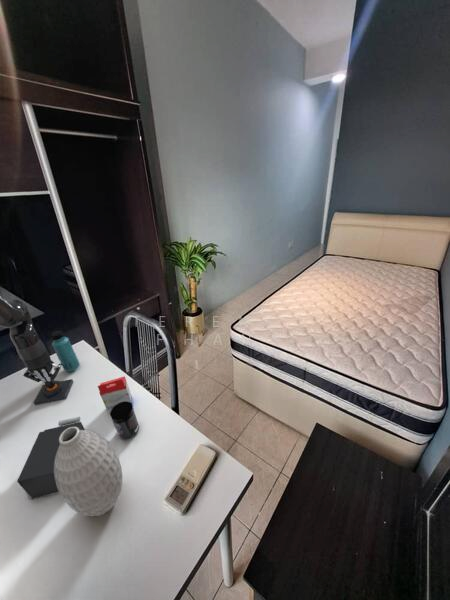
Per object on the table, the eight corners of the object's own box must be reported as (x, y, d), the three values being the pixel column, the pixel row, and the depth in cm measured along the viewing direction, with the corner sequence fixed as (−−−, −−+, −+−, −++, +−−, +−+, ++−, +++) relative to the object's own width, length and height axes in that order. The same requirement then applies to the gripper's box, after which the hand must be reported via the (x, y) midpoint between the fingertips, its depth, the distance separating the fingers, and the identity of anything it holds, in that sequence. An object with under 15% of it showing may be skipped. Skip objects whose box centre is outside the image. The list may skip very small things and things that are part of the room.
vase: (115, 463, 73) (85, 399, 60) (140, 494, 66) (112, 429, 53) (71, 504, 65) (24, 439, 51) (93, 544, 58) (46, 482, 44)
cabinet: (51, 450, 78) (39, 432, 74) (90, 440, 80) (81, 422, 76) (32, 499, 66) (16, 481, 62) (78, 486, 68) (66, 468, 64)
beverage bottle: (79, 361, 114) (63, 326, 105) (82, 369, 110) (66, 333, 100) (63, 368, 111) (45, 332, 101) (66, 376, 106) (48, 339, 97)
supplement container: (122, 421, 86) (115, 401, 81) (142, 421, 85) (135, 400, 80) (115, 441, 80) (106, 420, 75) (135, 440, 80) (128, 419, 75)
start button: (46, 394, 96) (44, 391, 95) (50, 387, 99) (48, 384, 98) (56, 392, 96) (55, 389, 96) (60, 385, 100) (58, 382, 99)
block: (35, 405, 94) (31, 399, 92) (44, 387, 101) (41, 381, 100) (66, 399, 96) (63, 392, 94) (73, 381, 103) (70, 375, 102)
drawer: (58, 431, 83) (49, 417, 79) (91, 424, 84) (84, 410, 81) (36, 487, 68) (25, 473, 65) (77, 476, 70) (68, 462, 66)
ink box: (132, 397, 95) (123, 369, 88) (133, 407, 91) (123, 379, 84) (109, 405, 92) (97, 376, 85) (108, 416, 88) (96, 387, 81)
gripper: (57, 342, 93) (73, 376, 101) (18, 349, 91) (37, 383, 99) (49, 355, 87) (67, 390, 95) (7, 363, 84) (29, 397, 93)
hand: (52, 386), depth 97 cm, fingers closed
